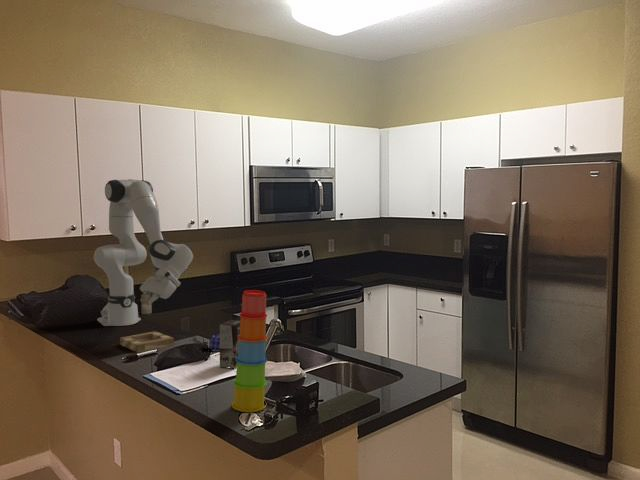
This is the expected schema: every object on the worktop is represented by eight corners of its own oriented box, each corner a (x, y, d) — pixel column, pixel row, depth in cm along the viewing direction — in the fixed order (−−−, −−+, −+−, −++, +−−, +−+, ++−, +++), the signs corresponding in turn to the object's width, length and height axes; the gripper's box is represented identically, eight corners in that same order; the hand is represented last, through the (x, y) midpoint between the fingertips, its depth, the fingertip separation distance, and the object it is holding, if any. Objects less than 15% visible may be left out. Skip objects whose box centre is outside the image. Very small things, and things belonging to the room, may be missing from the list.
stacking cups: (250, 397, 166) (250, 287, 164) (273, 405, 160) (273, 291, 157) (224, 406, 159) (224, 291, 156) (247, 416, 152) (247, 295, 149)
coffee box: (234, 369, 193) (234, 325, 192) (219, 367, 195) (218, 324, 194) (246, 362, 202) (246, 320, 201) (231, 360, 204) (230, 318, 203)
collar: (120, 344, 225) (120, 337, 225) (155, 337, 236) (155, 331, 236) (138, 352, 213) (137, 345, 213) (174, 345, 225) (173, 338, 225)
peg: (139, 313, 224) (139, 294, 223) (148, 311, 227) (148, 293, 226) (144, 314, 221) (144, 295, 220) (153, 313, 224) (153, 294, 223)
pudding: (238, 346, 224) (238, 334, 224) (221, 354, 213) (221, 341, 213) (215, 343, 229) (215, 331, 229) (197, 350, 219) (197, 337, 218)
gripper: (149, 270, 235) (128, 294, 229) (173, 274, 220) (151, 301, 214) (158, 279, 238) (138, 303, 232) (183, 284, 224) (162, 310, 218)
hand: (145, 302), depth 223 cm, fingers closed on peg, 4 cm apart
